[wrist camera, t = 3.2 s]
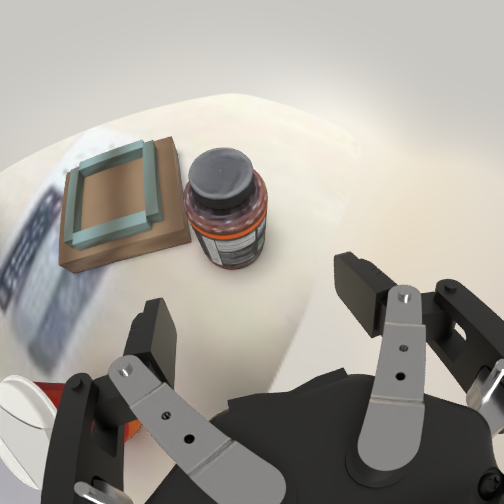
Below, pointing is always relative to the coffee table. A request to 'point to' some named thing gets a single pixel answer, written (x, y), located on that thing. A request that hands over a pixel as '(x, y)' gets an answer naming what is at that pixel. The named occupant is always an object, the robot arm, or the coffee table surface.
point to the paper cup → (31, 426)
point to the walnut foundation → (122, 206)
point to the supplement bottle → (227, 207)
